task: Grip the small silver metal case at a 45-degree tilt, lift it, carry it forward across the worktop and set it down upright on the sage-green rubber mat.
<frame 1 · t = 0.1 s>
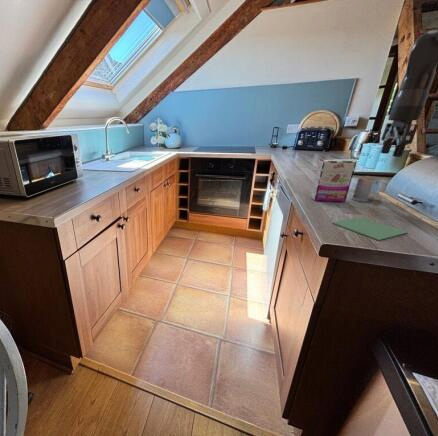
hand: (390, 154, 86), 19 cm above the countertop, tool pointing down, fingers open, 8 cm apart
green mat: (367, 228, 75), on the countertop
candy bar box: (326, 200, 101), on the countertop
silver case: (362, 199, 101), on the countertop
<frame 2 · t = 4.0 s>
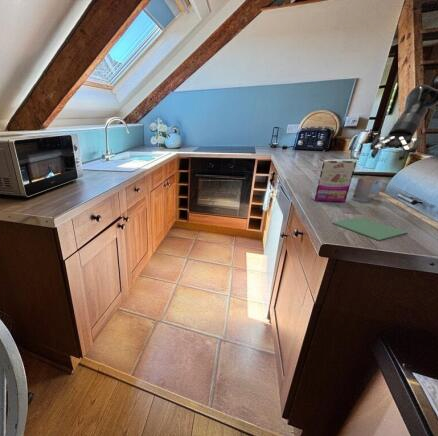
hand: (385, 157, 100), 16 cm above the countertop, tool tilted 45°, fingers open, 8 cm apart
nothing on the countertop moved.
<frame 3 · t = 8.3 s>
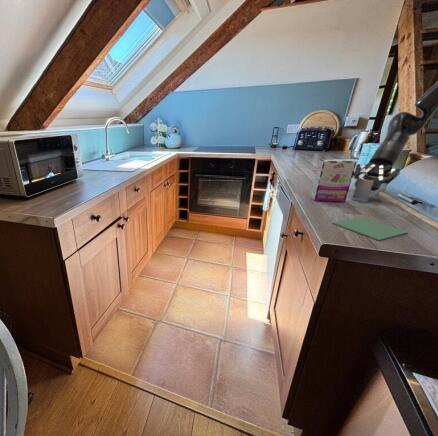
hand: (365, 188, 98), 5 cm above the countertop, tool tilted 45°, fingers closed on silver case, 5 cm apart
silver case: (362, 199, 101), on the countertop, touching gripper
everything else where it was.
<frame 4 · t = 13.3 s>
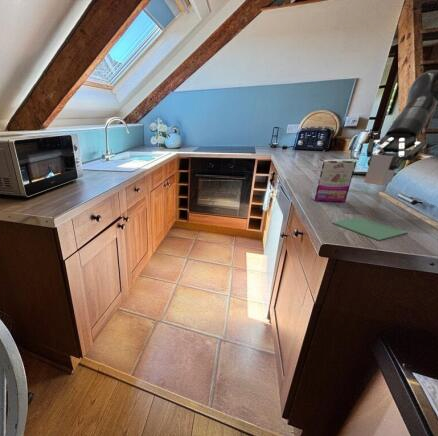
hand: (380, 167, 77), 17 cm above the countertop, tool tilted 45°, fingers closed on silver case, 5 cm apart
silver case: (377, 182, 80), point 12 cm above the countertop, touching gripper
everything else where it was.
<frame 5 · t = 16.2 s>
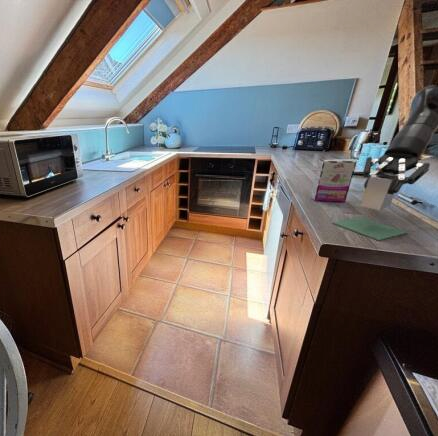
hand: (378, 190, 70), 12 cm above the countertop, tool tilted 45°, fingers closed on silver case, 5 cm apart
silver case: (374, 205, 73), point 7 cm above the countertop, touching gripper
everything else where it was.
when the fingers open (6 cm above the countertop, at t = 18.6 s): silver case stays where it is, resting on green mat.
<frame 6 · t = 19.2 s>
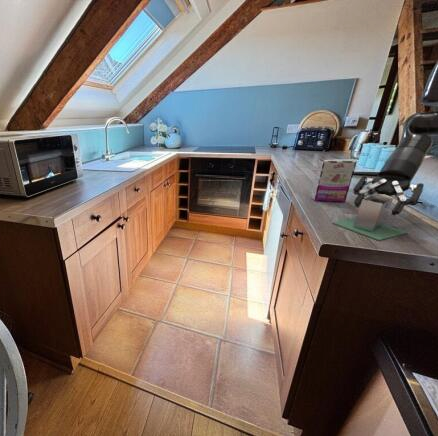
hand: (374, 209, 72), 7 cm above the countertop, tool tilted 45°, fingers open, 8 cm apart
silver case: (367, 226, 75), resting on green mat
everything else where it was.
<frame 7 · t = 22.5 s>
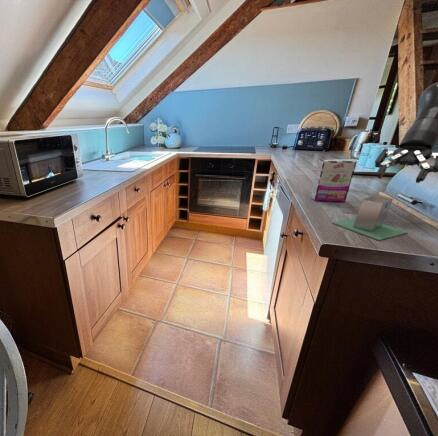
hand: (397, 179, 74), 14 cm above the countertop, tool tilted 45°, fingers open, 8 cm apart
nothing on the countertop moved.
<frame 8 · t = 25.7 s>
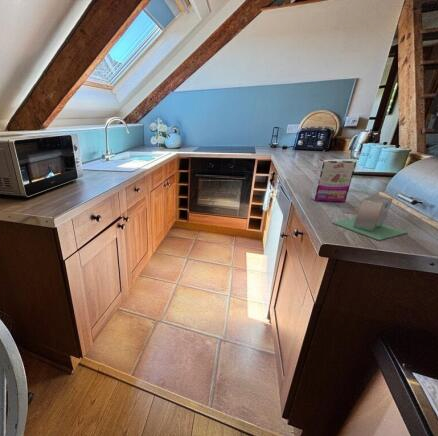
nothing on the countertop moved.
at the end: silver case inside the target area on the green mat (0.3 cm from its centre), point 0.4 cm above the green mat's base; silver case tilted 0°; the gripper is holding nothing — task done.
